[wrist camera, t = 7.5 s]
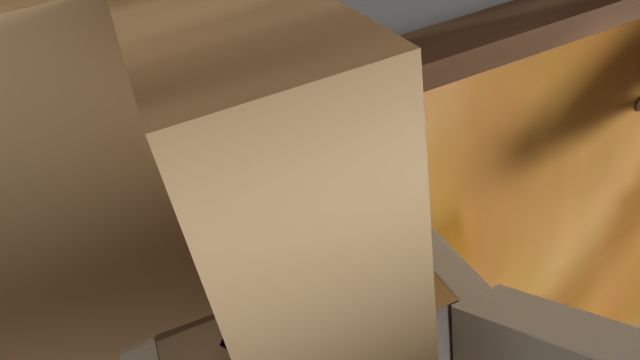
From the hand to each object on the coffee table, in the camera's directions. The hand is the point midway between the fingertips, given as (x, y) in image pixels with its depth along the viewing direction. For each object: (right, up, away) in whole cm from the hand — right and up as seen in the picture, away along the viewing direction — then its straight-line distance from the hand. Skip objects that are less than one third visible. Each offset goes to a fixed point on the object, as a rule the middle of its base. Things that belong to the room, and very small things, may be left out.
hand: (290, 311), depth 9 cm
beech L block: (-3, +1, +2) cm, 4 cm away
